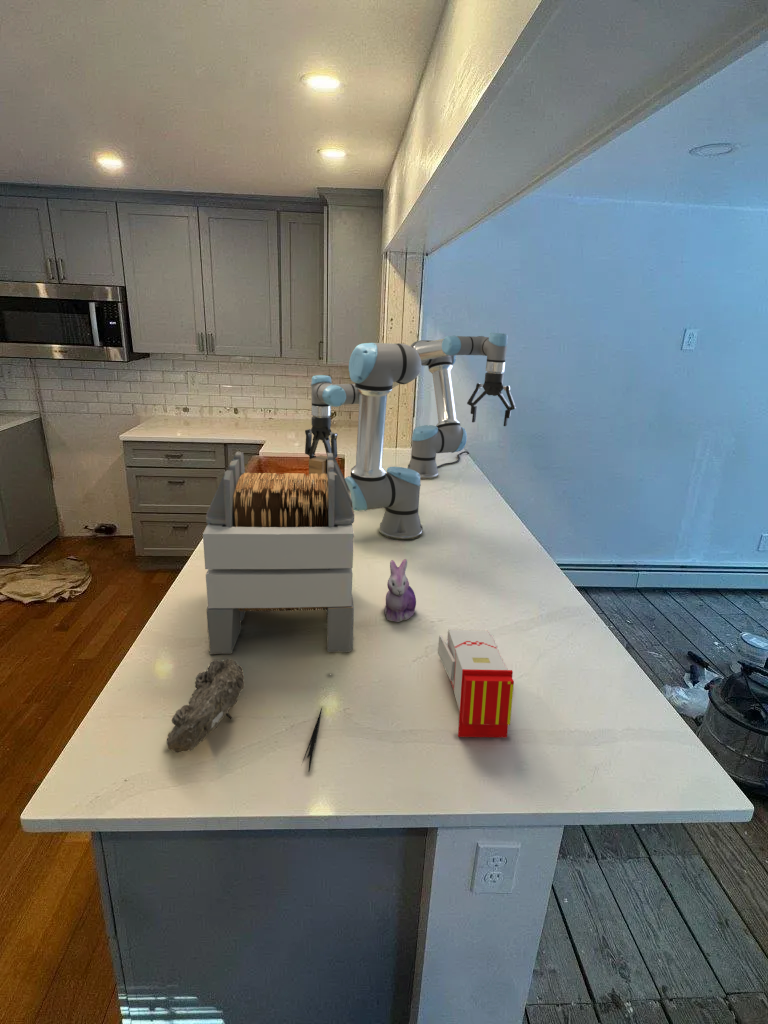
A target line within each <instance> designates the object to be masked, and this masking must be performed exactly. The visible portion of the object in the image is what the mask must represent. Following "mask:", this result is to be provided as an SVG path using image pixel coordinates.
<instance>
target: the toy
mask: <svg viewBox="0 0 768 1024" xmlns="http://www.w3.org/2000/svg"><path fill="white" fill-rule="evenodd" d="M446 640H447V643H446V641H445V639H444V636H443V635H442V634H439V637H438V646H437V656H438V657H439V659H440V661H441V663H442V666H443V668H444V670H445V672H446V674H447V677H448V679H449V681H450V684H451V687H452V690H453V693H454V697H455V701H456V705H457V708H458V711H459V714H458V715H459V716H458V730H457V731H458V732H457V737H458V738H508V731H509V726H510V725H511V717H512V707H513V697H514V696H513V695H514V684H515V680H514V679H513V673H514V671H513V670H512V669H508V667H507V665H506V662H505V661H504V659H503V658H502V655H501V653H500V651H499V649H498V647H497V643H496V639H495V637H494V635H493V634H491V632H490V631H489V629H467V628H466V629H465V628H463V629H461V628H460V629H459V628H448V630H447V639H446Z"/></svg>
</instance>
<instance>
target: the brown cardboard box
mask: <svg viewBox="0 0 768 1024" xmlns="http://www.w3.org/2000/svg"><path fill="white" fill-rule="evenodd" d="M326 459H327V455H322V454H320V455H316V457H314V458H311V459H308V475H309V474H317V475H318V477H319V475H320V476H321V474H326Z"/></svg>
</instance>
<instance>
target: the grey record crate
mask: <svg viewBox="0 0 768 1024" xmlns="http://www.w3.org/2000/svg"><path fill="white" fill-rule="evenodd" d="M244 455H245V454H244V451H242V452H241V451H236V452H235V454H234V456H233V458H232V459H230V463H229V465H228V467H227V469H226V470H224V473H223V475H222V478H221V479H220V482H219V484H218V487H217V489H216V491H215V494H214V495H213V497H212V500H211V502H210V505H209V507H208V509H207V511H206V515H205V523H206V524H207V525H206V527H205V529H204V531H203V533H202V543H203V558H204V569H205V570H206V573H205V584H206V587H205V588H206V598H207V599H206V601H207V607H206V623H207V634H208V641H209V642H208V643H209V650H208V653H209V655H216V654H217V655H218V654H221V655H222V654H223V655H226V654H227V655H228V654H230V655H231V654H232V653H233V650H234V648H235V647H236V643H237V641H238V638H239V636H240V634H241V630H242V626H241V625H242V623H241V622H243V621H244V618H245V615H246V612H272V611H273V612H279V611H280V612H284V611H286V612H288V611H289V612H291V611H292V612H293V611H294V612H295V611H303V612H304V611H322V610H323V611H326V636H327V637H326V641H327V645H326V646H327V652H329V653H330V652H332V653H333V652H343V653H349V652H351V651H352V650H354V617H355V616H354V614H355V607H354V598H353V575H354V573H353V566H354V563H353V562H354V537H355V536H354V535H355V532H354V527H353V524H354V522H355V510H353V505H352V499H351V493H350V492H351V491H350V489H349V487H348V485H347V483H346V481H345V478H346V477H345V476H344V474H343V472H342V470H341V467H340V465H339V463H338V461H337V459H336V458H335V457H334V454H333V453H327V454H326V456H327V474H321V476H320V475H319V477H318V475H317V474H309V473H307V474H306V473H303V472H302V473H299V472H298V473H297V472H294V473H293V472H292V473H291V472H290V473H288V472H283V473H276V472H273V473H271V472H263V473H262V472H259V473H258V472H253V473H252V472H245V468H246V467H245V456H244Z"/></svg>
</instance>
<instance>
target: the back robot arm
mask: <svg viewBox="0 0 768 1024" xmlns="http://www.w3.org/2000/svg"><path fill="white" fill-rule="evenodd" d="M508 338H509V336H508V334H507V333H504V332H503V333H502V332H490V333H489V335H488V336H484V335H477V336H475V335H474V336H472V335H471V336H464V335H447V336H445V337H444V338H441V339H434V340H429V339H428V340H425V339H422V340H417V341H413V342H412V343H411V344H410V346H411V347H412V348H414V349H415V350H416V351H417V353H418V354H419V356H420V359H421V367H422V366H423V367H425V366H426V367H427V368H428V372H429V373H431V374H432V381H433V387H434V388H433V390H434V398H435V406H436V413H437V414H436V415H437V421H438V422H437V424H436V425H433V424H429V425H428V424H424V425H419V426H417V427H415V428H413V431H412V435H411V455H410V461H409V463H408V464H407V468H408V469H412V470H414V471H416V472H418V473H419V475H420V480H434V479H437V478H438V477H439V470H438V469H439V468H441V467H444V466H448V465H454V464H455V465H456V464H457V463H459V461H460V460H461V457H460V456H461V455H463V454H467V455H470V452H469V451H468V450H464V451H463V449H464V448H465V446H466V444H467V441H468V434H467V431H466V429H465V427H462V426H461V422H460V421H459V420H458V419H457V414H456V405H455V398H454V391H453V382H452V376H451V375H452V373H451V370H452V369H453V367H454V364H455V363H456V361H457V359H456V358H457V356H483V357H486V363H485V374H484V383H481V382H477V383H476V385H475V389H474V390H473V392H472V394H471V395H470V397H469V398H468V400H467V402H466V405H469V406H470V415H472V416H471V417H472V418H471V423H475V422H476V420H477V419H476V418H477V411H478V410H477V409H478V406H477V404H478V403H479V402H480V401H482V399H483V398H484V397H485V396H486V395H487V396H494V397H498V398H499V399H500V401H501V403H502V404H503V405H504V407H505V409H506V410H504V419H503V427H507V425H508V419H510V418H511V414H512V411H513V410H515V409H517V406H516V403H515V400H514V397H513V394H512V393H511V385H504V376H505V374H504V373H505V367H506V358H507V351H508V340H509V339H508ZM482 388H483V390H484V391H483V392H481V394H480V395H479V396H478V397H477V398H476V396H477V394H478V393H479V391H480V390H481V389H482ZM503 390H504V391H505V393H506V396H507V399H508V400H507V399H506V397H505V396H504V394H503V392H502V391H503ZM475 398H476V399H475ZM474 399H475V400H474ZM508 401H509V402H508ZM461 451H462V452H461ZM448 453H451V454H452V453H458V454H457V455H456V456H457V460H455V461H451V462H446V463H445V462H444V463H442V464H439V465H437V459H436V458H437V457H436V456H437V454H448Z"/></svg>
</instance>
